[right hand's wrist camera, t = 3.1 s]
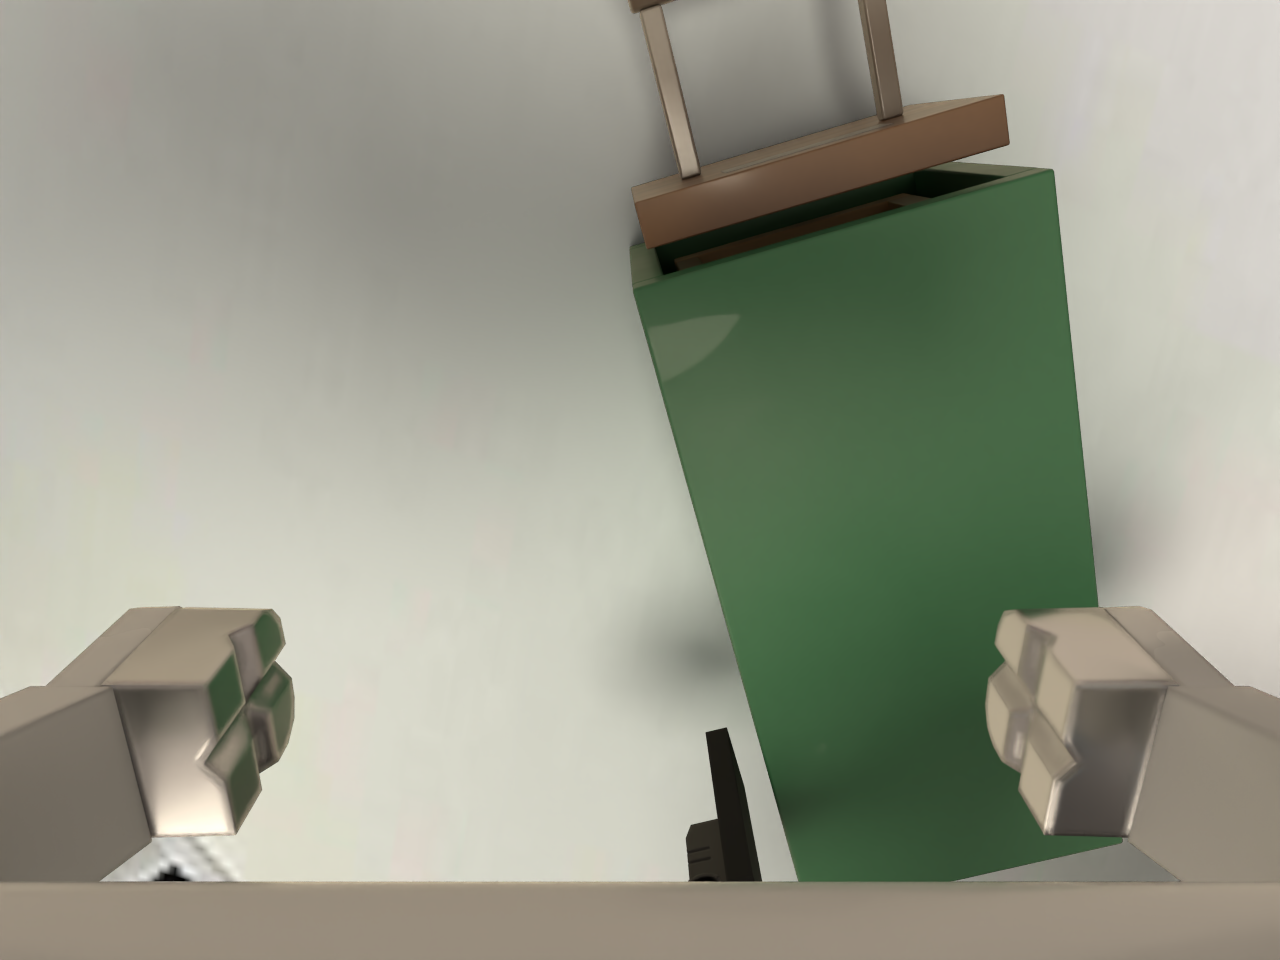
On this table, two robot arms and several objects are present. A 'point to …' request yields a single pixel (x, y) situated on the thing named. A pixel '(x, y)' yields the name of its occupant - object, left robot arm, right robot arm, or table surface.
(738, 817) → the left robot arm
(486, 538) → the table surface
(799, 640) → the cabinet
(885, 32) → the drawer
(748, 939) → the right robot arm
